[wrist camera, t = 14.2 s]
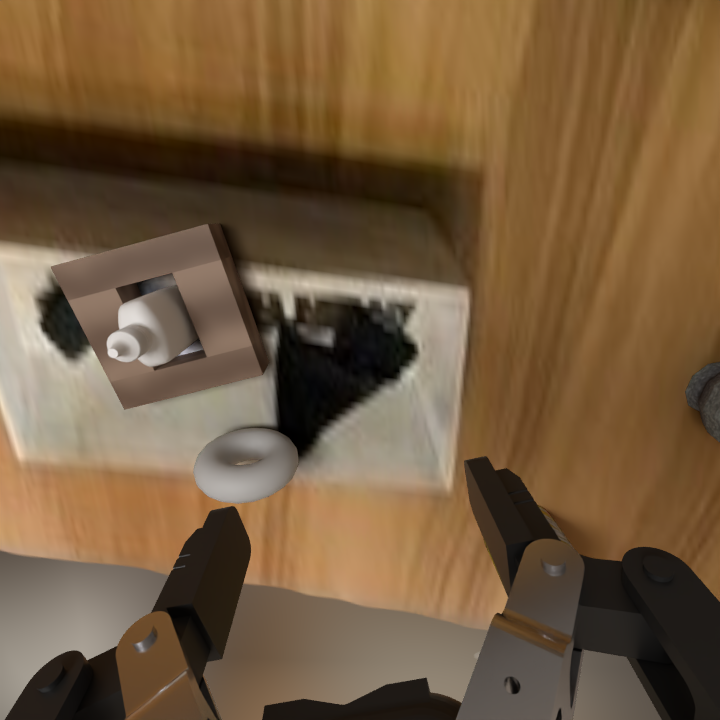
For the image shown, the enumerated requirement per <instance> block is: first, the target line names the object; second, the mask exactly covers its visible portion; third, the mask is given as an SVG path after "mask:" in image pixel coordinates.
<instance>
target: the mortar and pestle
mask: <svg viewBox="0 0 720 720" xmlns="http://www.w3.org/2000/svg"><path fill="white" fill-rule="evenodd" d="M685 393H686V397H687V401H688V405H689V406H691V407H692V408H694V409H696V410H698V411H700V415H701V419H702V422H703V424H704V426H705V428H706V430H707V432H708V433H709V434H710V435H711V436H713V437H714V438H715V439H716V440H717V441H719V442H720V362H718V363H712V364H708V365H706V366H705V367H704V368H702V369H701V370H700V371H699V372H697V373H696V374H695V375H693V376H692V378H691V380H690V383H689V385H688V387H687V389H686V391H685Z"/></svg>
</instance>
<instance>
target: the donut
mask: <svg viewBox="0 0 720 720" xmlns="http://www.w3.org/2000/svg"><path fill="white" fill-rule="evenodd" d="M246 460H260V461H258V462H255V463H252V464H247V465H235V464H237V463H239V462H242V461H246ZM297 467H298V452H297V448H296V447H295V445H294V444H293V443H292V441H291V440H290V438H288V437H287V436H285V435H283V434H282V433H280V432H278V431H275V430H271V429H266V428H247V429H240V430H236V431H232V432H229V433H227V434H224V435H222V436H219V437H217V438H216V439H214V440H213V441H211V442H210V443H208V444H207V445H206V446H205V448H204V449H203V450H202V451H201V452H200V453H199V454H198V457H197V459H196V462H195V465H194V472H193V473H194V477H195V480H196V483H197V486H198V487H199V488H200V489H201V490H202V491H203V492H204V493H205V494H206V495H207V496H208V497H211V498H213V499H216V500H218V501H221V502H228V503H246V502H254V501H257V500H260V499H263V498H266V497H269V496H270V495H272V494H274V493H275V492H277V491H279V490H280V489H282V488H283V487H284V486H285V485H286V484H287V483H288V482H289V481H290V480H291V479H292V477H293V476H294V474H295V471H296V469H297Z"/></svg>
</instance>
